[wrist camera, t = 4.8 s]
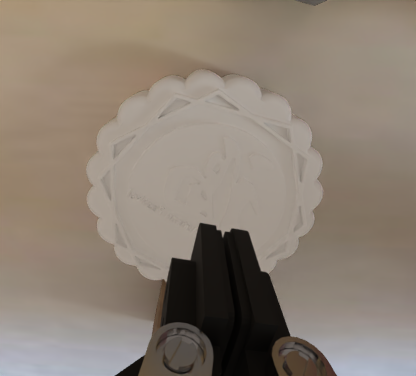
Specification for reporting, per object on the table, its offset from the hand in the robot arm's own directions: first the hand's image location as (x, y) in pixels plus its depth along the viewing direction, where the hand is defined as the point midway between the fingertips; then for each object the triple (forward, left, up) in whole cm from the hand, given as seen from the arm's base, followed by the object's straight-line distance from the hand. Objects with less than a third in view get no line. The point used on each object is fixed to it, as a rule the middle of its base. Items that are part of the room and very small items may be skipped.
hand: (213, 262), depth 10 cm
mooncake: (0, 0, -8) cm, 8 cm away
